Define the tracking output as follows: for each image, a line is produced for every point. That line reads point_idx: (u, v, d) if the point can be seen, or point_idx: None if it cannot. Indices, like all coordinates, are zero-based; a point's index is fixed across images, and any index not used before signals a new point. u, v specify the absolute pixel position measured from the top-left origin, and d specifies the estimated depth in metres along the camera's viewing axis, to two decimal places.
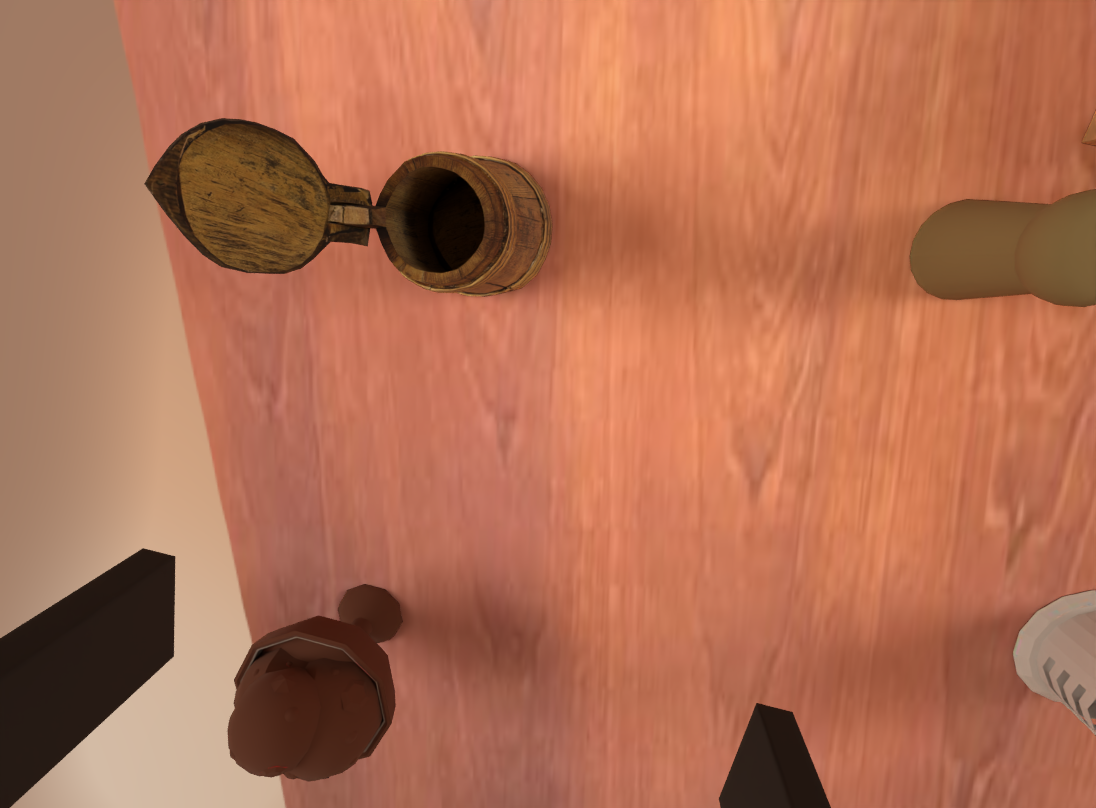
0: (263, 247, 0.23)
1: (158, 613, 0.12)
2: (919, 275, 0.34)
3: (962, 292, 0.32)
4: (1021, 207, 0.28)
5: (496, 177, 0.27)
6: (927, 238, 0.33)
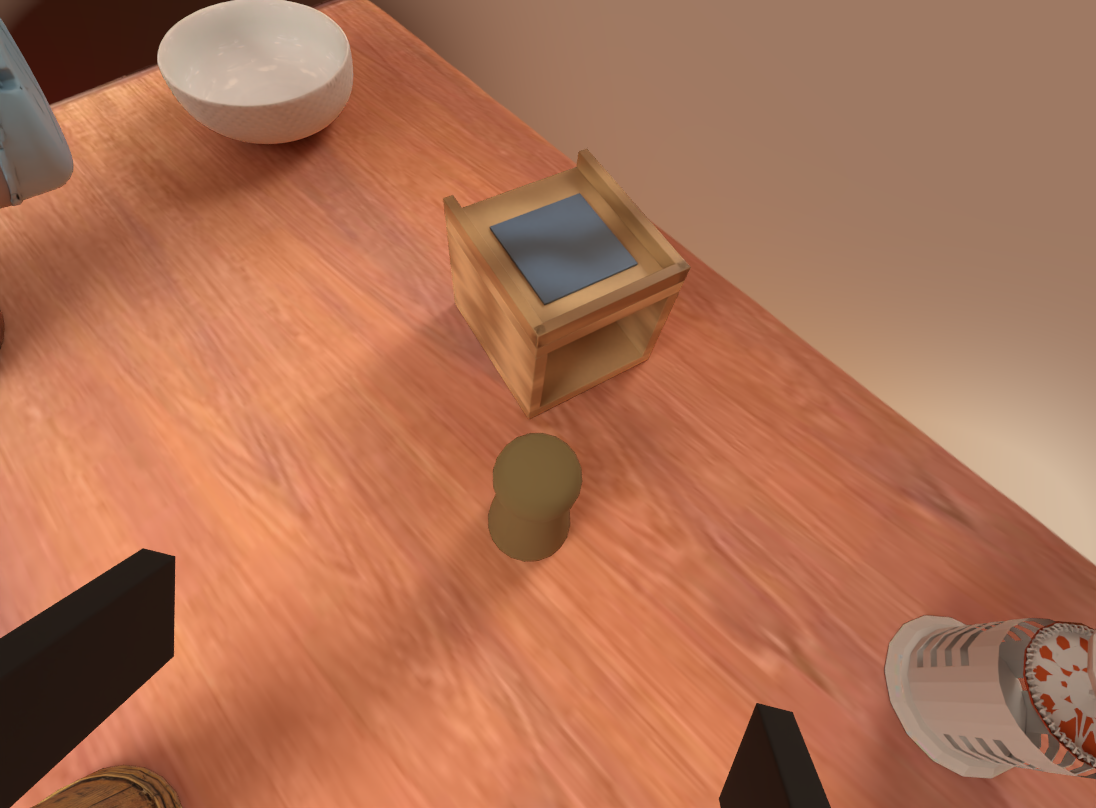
0: None
1: (158, 613, 0.12)
2: (517, 556, 0.38)
3: (542, 545, 0.36)
4: None
5: None
6: (494, 533, 0.38)
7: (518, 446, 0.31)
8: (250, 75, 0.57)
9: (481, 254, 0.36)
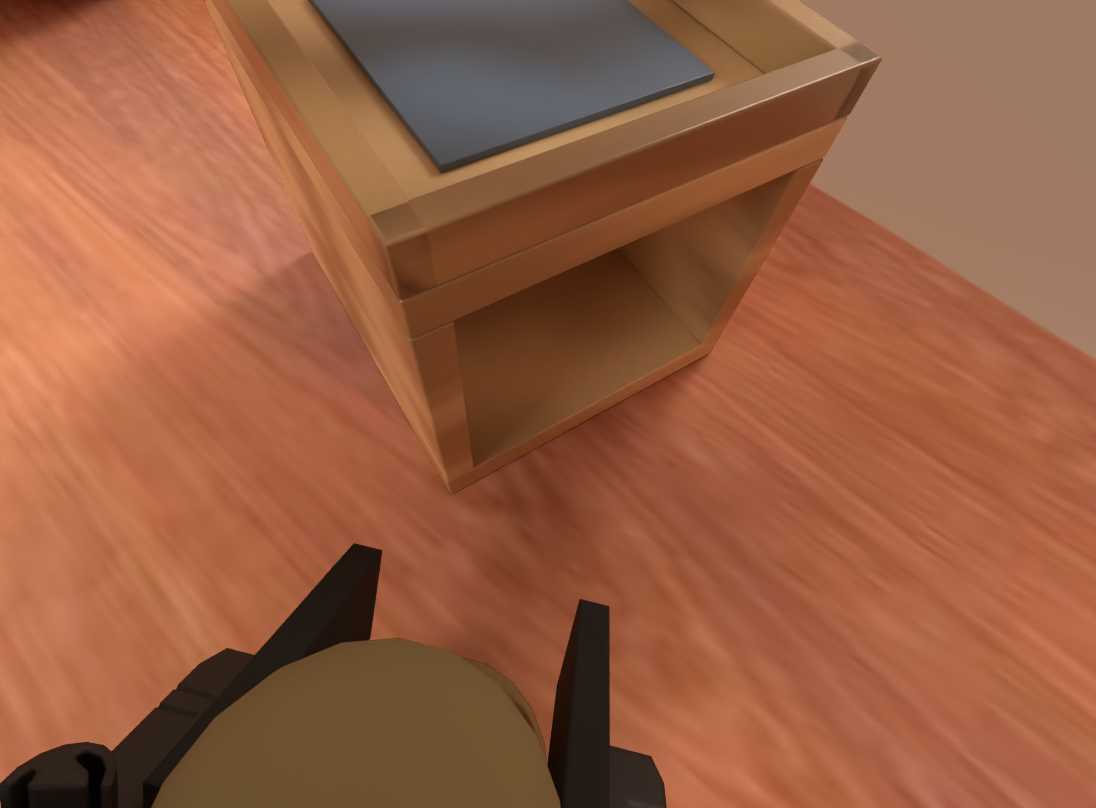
0: None
1: (369, 599, 0.14)
2: None
3: None
4: None
5: None
6: None
7: (237, 756, 0.06)
8: None
9: (235, 15, 0.11)
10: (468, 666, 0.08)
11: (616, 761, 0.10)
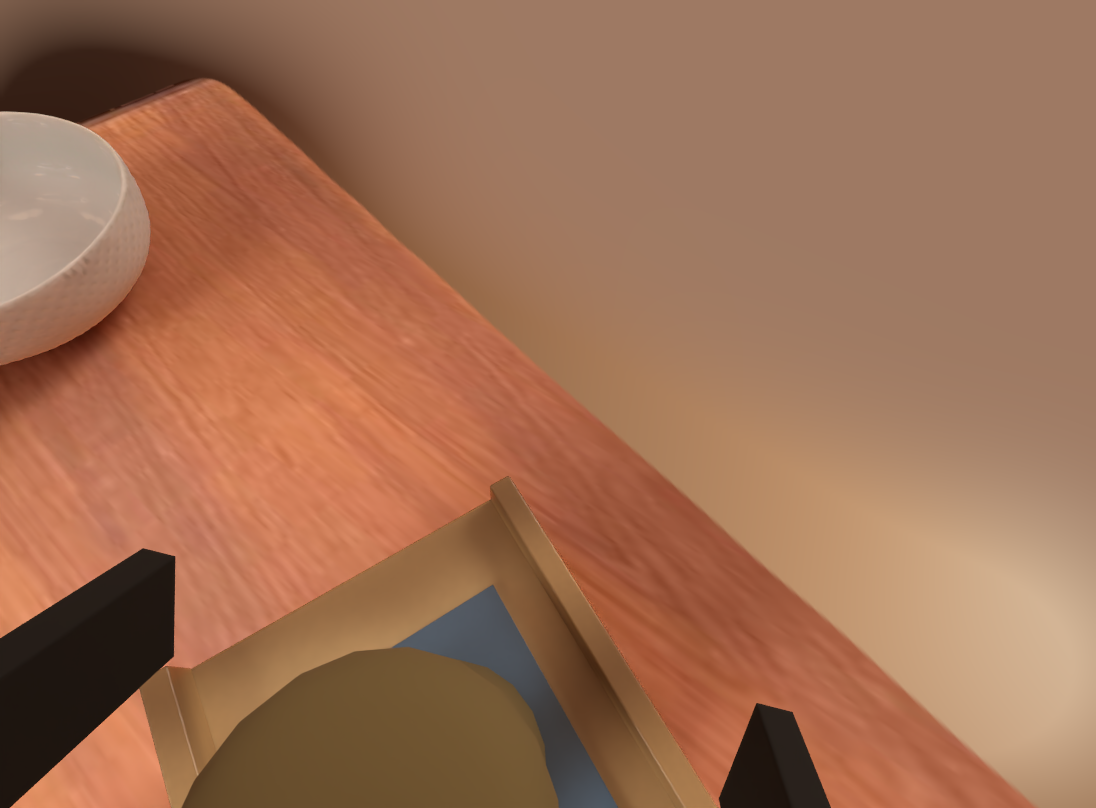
0: None
1: (158, 613, 0.12)
2: None
3: None
4: None
5: None
6: None
7: (262, 757, 0.07)
8: None
9: None
10: (472, 673, 0.08)
11: None
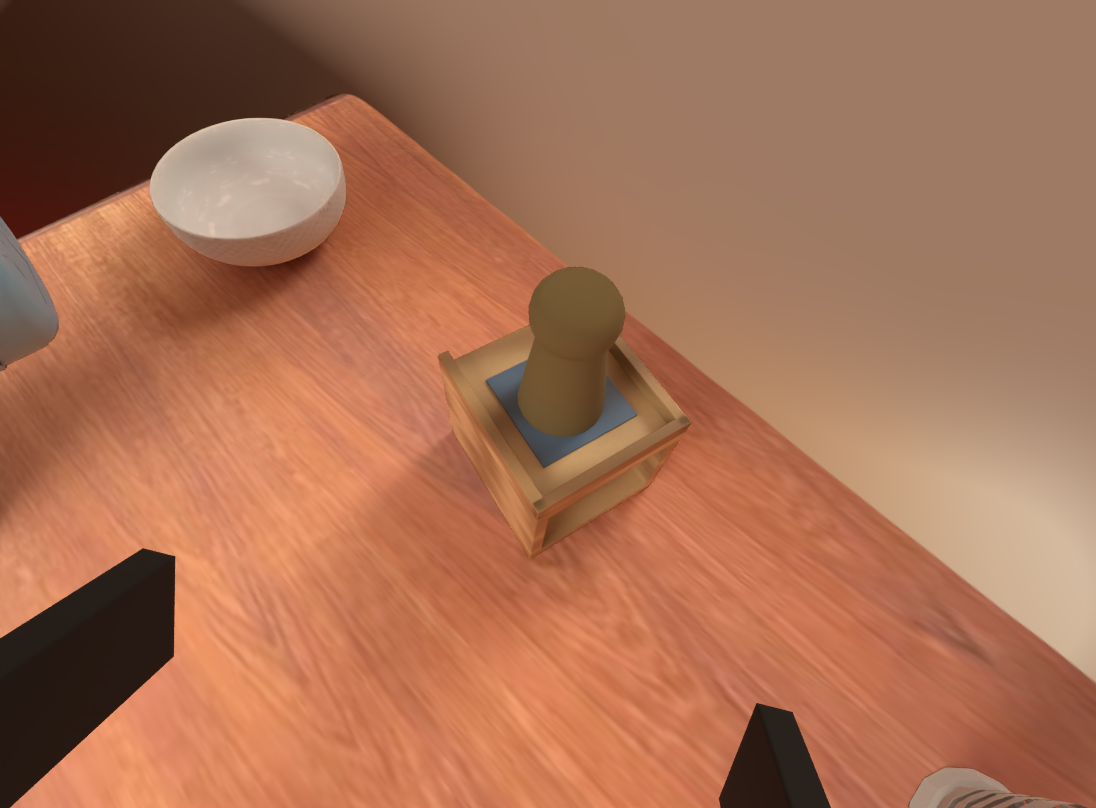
0: None
1: (158, 613, 0.12)
2: (550, 430, 0.36)
3: (579, 411, 0.34)
4: None
5: None
6: (525, 406, 0.36)
7: (556, 276, 0.29)
8: (243, 190, 0.57)
9: (477, 418, 0.35)
10: None
11: None
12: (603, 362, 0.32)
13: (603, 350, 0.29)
